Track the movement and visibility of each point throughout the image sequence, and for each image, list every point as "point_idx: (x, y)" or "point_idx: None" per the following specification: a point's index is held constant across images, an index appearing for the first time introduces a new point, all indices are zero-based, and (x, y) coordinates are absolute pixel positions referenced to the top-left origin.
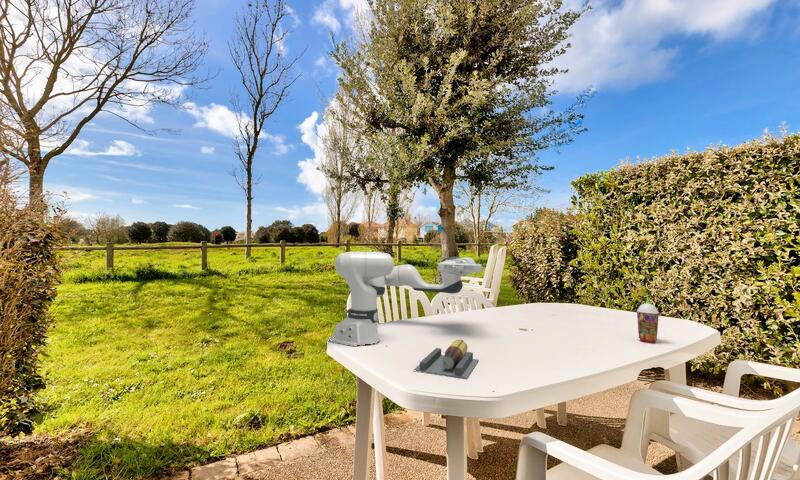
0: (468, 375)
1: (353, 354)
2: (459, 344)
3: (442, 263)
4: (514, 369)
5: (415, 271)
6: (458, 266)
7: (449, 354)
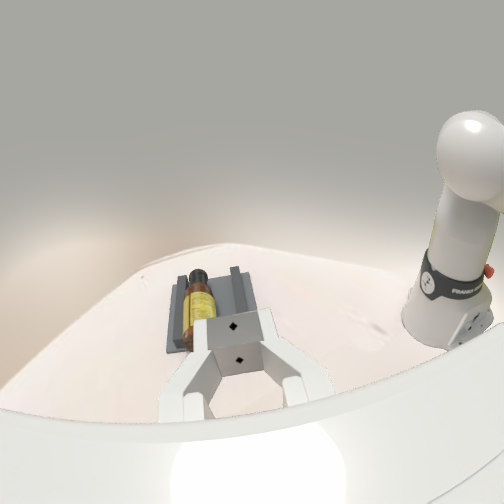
0: (172, 290)
1: (371, 272)
2: (190, 307)
3: (488, 339)
4: (110, 343)
5: None
6: (207, 328)
7: (198, 279)
